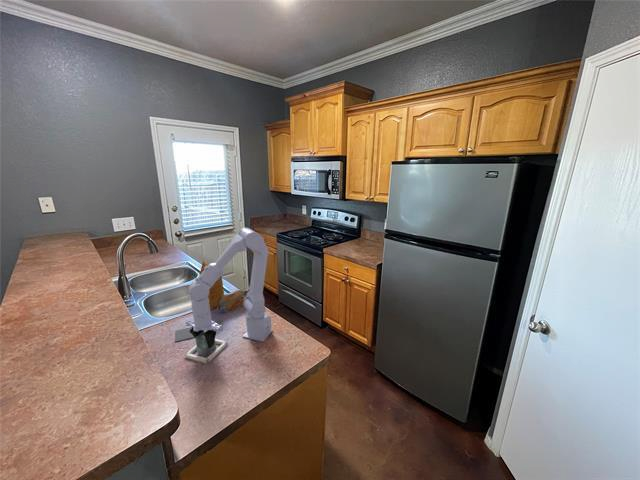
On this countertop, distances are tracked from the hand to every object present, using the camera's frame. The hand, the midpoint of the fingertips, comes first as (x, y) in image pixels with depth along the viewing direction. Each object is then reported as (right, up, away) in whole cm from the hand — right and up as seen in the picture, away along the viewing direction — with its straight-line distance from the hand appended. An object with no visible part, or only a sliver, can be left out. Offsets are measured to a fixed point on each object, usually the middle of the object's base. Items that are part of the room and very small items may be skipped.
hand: (206, 345), depth 97 cm
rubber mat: (-8, +1, +13) cm, 15 cm away
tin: (0, +5, +30) cm, 31 cm away
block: (0, -2, +1) cm, 2 cm away
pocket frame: (0, -2, +1) cm, 2 cm away
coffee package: (-12, +7, +35) cm, 38 cm away
